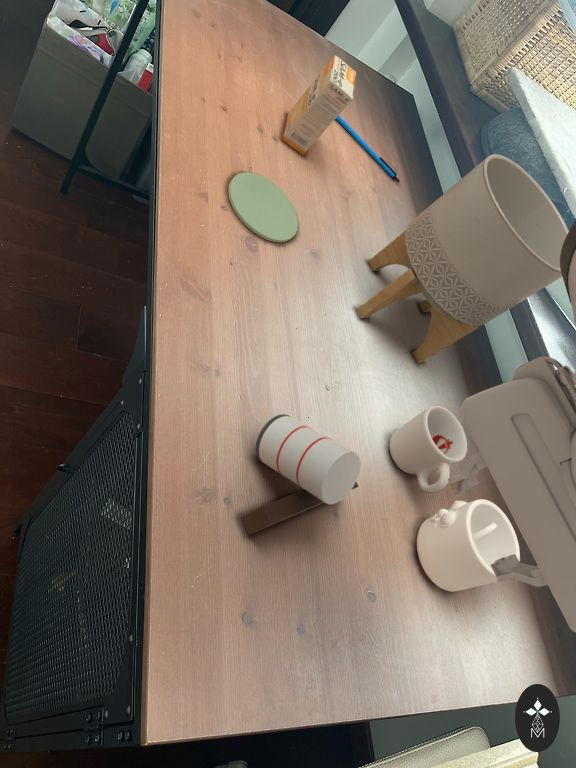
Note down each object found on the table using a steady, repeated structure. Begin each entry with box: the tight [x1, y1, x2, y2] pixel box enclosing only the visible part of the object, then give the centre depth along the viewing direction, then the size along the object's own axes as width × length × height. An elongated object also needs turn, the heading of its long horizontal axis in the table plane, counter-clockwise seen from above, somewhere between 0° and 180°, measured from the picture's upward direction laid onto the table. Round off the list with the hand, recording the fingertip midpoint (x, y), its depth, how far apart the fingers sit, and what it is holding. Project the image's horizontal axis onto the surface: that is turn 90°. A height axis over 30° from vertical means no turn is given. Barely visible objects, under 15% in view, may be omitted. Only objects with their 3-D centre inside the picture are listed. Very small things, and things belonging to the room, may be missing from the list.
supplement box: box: [281, 54, 357, 156], centre depth 101 cm, size 8×5×13 cm, turn 171°
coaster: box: [227, 171, 299, 243], centre depth 91 cm, size 12×12×1 cm
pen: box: [335, 115, 401, 183], centre depth 118 cm, size 1×19×1 cm, turn 64°
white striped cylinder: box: [255, 413, 362, 505], centre depth 67 cm, size 6×11×11 cm, turn 30°
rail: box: [240, 481, 359, 536], centre depth 68 cm, size 14×2×4 cm, turn 120°
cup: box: [389, 405, 468, 493], centre depth 82 cm, size 11×8×8 cm
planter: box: [356, 153, 570, 363], centre depth 91 cm, size 19×19×26 cm
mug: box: [416, 498, 521, 592], centre depth 79 cm, size 12×10×9 cm
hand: (475, 527), depth 53 cm, fingers open, 6 cm apart
